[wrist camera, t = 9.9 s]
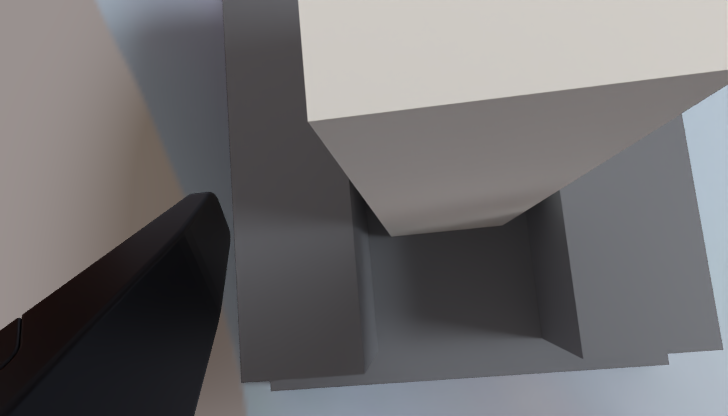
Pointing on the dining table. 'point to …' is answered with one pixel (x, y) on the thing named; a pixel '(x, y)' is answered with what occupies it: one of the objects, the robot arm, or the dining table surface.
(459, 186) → the grey block
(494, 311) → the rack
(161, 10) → the dining table surface
